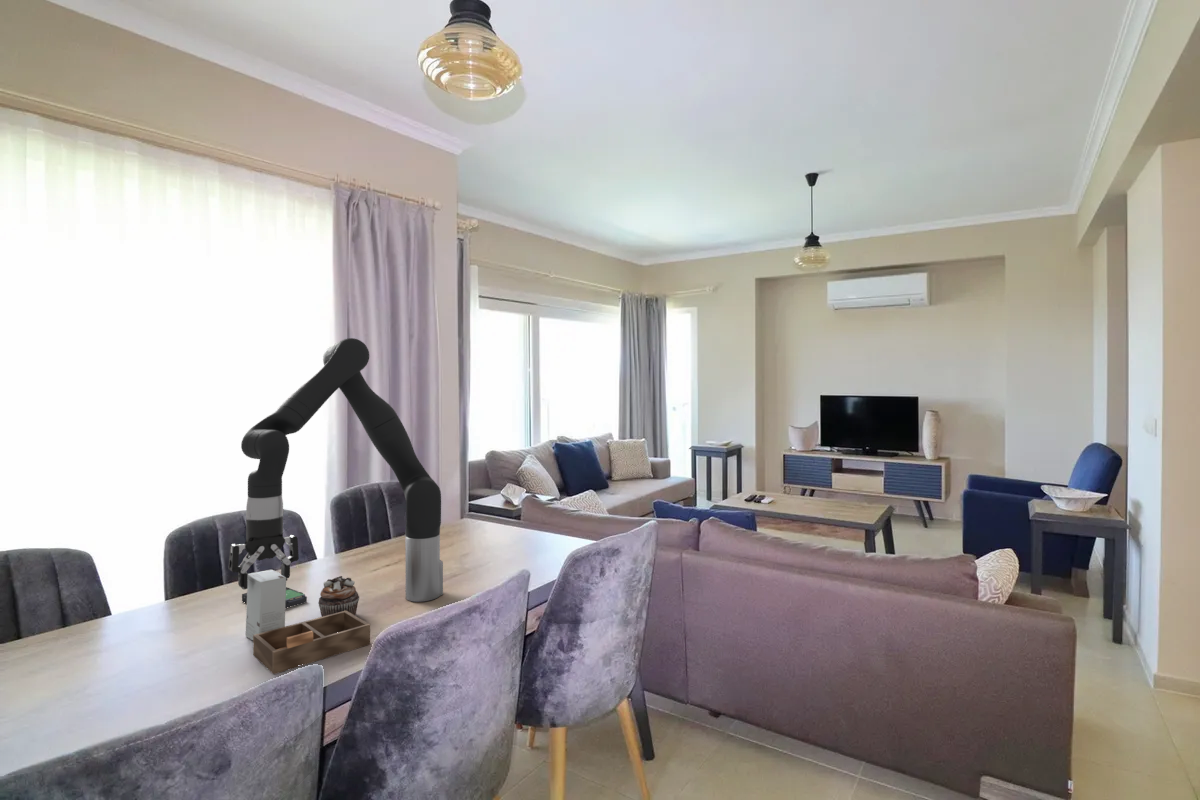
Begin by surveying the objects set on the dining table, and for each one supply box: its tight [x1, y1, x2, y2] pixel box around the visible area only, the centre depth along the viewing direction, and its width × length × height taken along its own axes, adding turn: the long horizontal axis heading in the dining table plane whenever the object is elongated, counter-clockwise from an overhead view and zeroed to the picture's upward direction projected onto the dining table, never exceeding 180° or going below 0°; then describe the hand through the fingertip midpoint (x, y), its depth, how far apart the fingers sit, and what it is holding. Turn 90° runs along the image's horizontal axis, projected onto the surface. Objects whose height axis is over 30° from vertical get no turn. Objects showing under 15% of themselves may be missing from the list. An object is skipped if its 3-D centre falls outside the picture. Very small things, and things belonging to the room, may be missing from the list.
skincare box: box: [245, 569, 287, 641], centre depth 143 cm, size 8×6×15 cm
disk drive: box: [241, 586, 308, 609], centre depth 166 cm, size 10×3×15 cm
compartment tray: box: [252, 611, 371, 675], centre depth 136 cm, size 20×13×6 cm, turn 136°
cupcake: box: [318, 575, 360, 617], centre depth 155 cm, size 10×10×10 cm
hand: (264, 584), depth 143 cm, fingers open, 8 cm apart
